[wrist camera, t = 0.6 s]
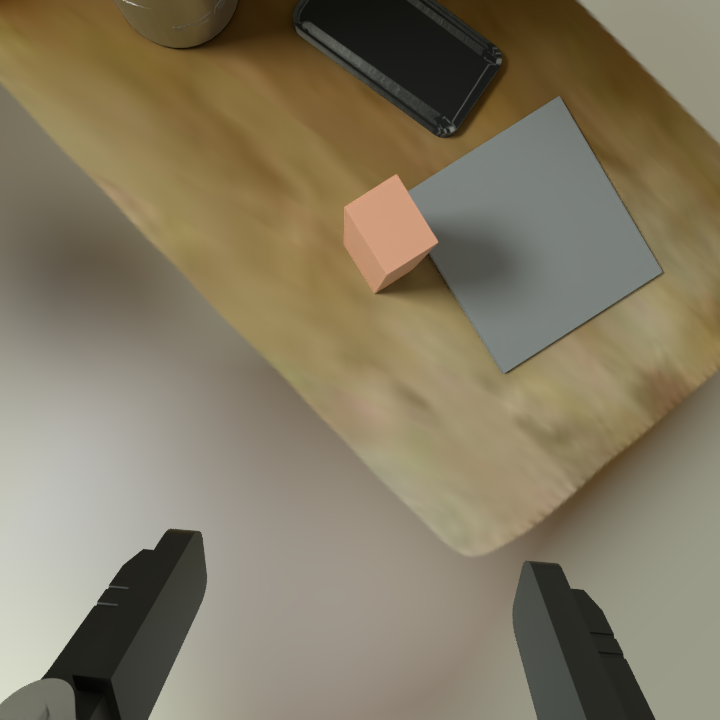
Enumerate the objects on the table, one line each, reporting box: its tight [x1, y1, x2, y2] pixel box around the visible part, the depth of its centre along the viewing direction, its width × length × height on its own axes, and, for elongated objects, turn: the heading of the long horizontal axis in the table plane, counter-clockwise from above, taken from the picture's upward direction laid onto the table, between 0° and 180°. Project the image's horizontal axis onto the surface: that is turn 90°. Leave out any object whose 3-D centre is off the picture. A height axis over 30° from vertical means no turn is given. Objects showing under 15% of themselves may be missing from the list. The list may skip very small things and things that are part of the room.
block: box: [344, 174, 438, 294], centre depth 30 cm, size 4×4×10 cm
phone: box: [293, 0, 502, 138], centre depth 34 cm, size 8×1×15 cm
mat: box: [408, 96, 662, 374], centre depth 35 cm, size 16×15×1 cm
